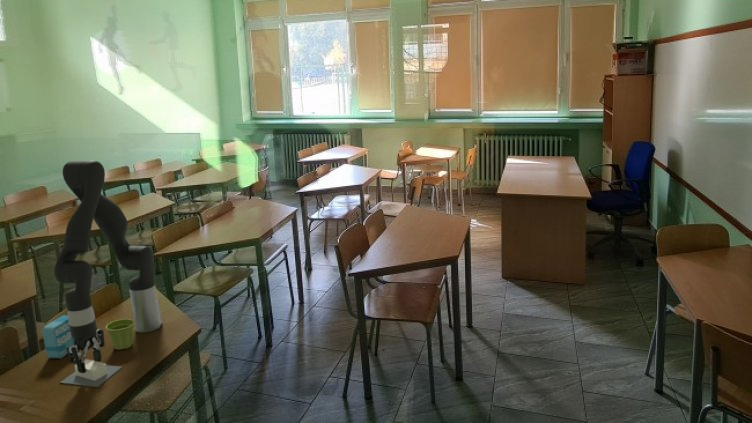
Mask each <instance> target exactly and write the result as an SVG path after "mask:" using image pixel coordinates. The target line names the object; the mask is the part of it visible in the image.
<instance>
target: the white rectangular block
mask: <svg viewBox="0 0 752 423" xmlns="http://www.w3.org/2000/svg"><path fill="white" fill-rule="evenodd" d="M84 362H85V367H86V372H85V373H80V372H78V368H77V364H74V367H73V368H74V372H76V375H77V376H80V377H84V378H87V379H90V380H94V381H95V380H97V379H99V378H101V377H102V376H104V375H106V374H108V373H107V367H106V365H107V364H106V363H104V362H102V361H100V362H97V361H94V359H89V358H86V359H84Z"/></svg>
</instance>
